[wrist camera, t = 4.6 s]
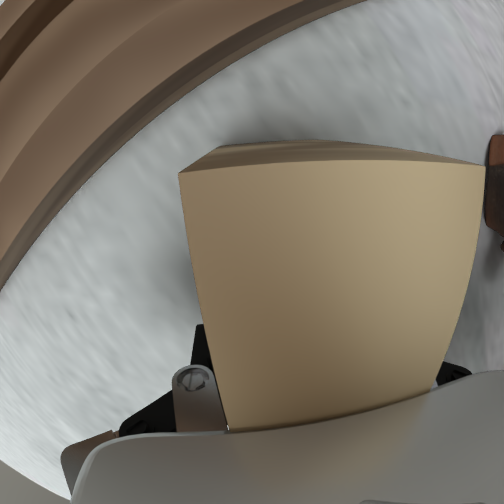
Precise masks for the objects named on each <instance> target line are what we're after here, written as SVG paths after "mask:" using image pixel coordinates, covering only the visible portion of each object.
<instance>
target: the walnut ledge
mask: <svg viewBox="0 0 504 504" xmlns="http://www.w3.org/2000/svg"><path fill="white" fill-rule="evenodd" d="M363 1H366V0H5V1H4V2H3V4H2V5H1V6H0V291H1V289H2V288H3V286H4V285H5V283H6V281H7V280H8V278H9V277H10V275H11V274H12V272H13V271H14V269H15V268H16V266H17V265H18V264H19V262H20V261H21V259H22V258H23V257H24V255H25V254H26V252H27V251H28V250H29V248H30V247H31V246H32V244H33V243H34V242H35V240H36V239H37V238H38V236H39V235H40V234H41V233H42V231H43V230H44V229H45V228H46V226H47V225H48V224H49V223H50V221H51V220H52V219H53V218H54V217H55V215H56V214H57V213H58V212H59V211H60V209H61V208H62V207H63V206H64V205H65V204H66V203H67V201H68V200H69V199H70V198H71V197H72V196H73V195H74V194H75V193H76V192H77V190H78V189H79V188H80V187H81V186H82V185H83V184H84V183H85V182H86V181H87V180H88V179H89V178H90V177H91V176H92V175H93V174H94V173H95V172H96V171H97V170H98V169H99V168H100V167H101V166H102V165H103V164H104V163H105V162H106V161H107V160H108V159H109V158H110V157H111V156H112V155H113V154H114V153H115V152H116V151H117V150H119V149H120V148H121V147H122V146H123V145H124V144H125V143H126V142H127V141H129V140H130V139H131V138H132V137H133V136H134V135H135V134H136V133H138V132H139V131H140V130H141V129H142V128H144V127H145V126H146V125H147V124H148V123H150V122H151V121H152V120H153V119H154V118H156V117H157V116H158V115H159V114H161V113H162V112H163V111H164V110H166V109H167V108H168V107H170V106H171V105H172V104H174V103H175V102H176V101H178V100H179V99H180V98H182V97H183V96H184V95H186V94H187V93H188V92H190V91H191V90H193V89H194V88H195V87H197V86H198V85H200V84H201V83H203V82H204V81H206V80H207V79H209V78H210V77H212V76H213V75H215V74H216V73H218V72H219V71H221V70H222V69H224V68H226V67H227V66H229V65H230V64H232V63H234V62H235V61H237V60H239V59H240V58H242V57H244V56H245V55H247V54H249V53H250V52H252V51H254V50H256V49H258V48H259V47H261V46H263V45H265V44H267V43H268V42H270V41H272V40H274V39H276V38H278V37H280V36H282V35H284V34H286V33H288V32H290V31H292V30H294V29H296V28H298V27H300V26H303V25H305V24H307V23H309V22H311V21H314V20H316V19H318V18H321V17H323V16H326V15H328V14H330V13H333V12H335V11H338V10H341V9H343V8H346V7H349V6H351V5H354V4H357V3H360V2H363Z"/></svg>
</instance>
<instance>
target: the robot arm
mask: <svg viewBox="0 0 504 504" xmlns="http://www.w3.org/2000/svg"><path fill="white" fill-rule="evenodd" d="M227 425H228V423H227V419H226V416H225V412H224V408H223V404H222V400H221V397H220V393H219V389H218V385H217V381H216V376H215V372H214V368H213V364H212V360H211V355H210V351H209V347H208V342H207V338H206V333H205V328H204V324H199V325H197V326H196V331H195V337H194V344H193V350H192V357H191V364H190V365H189V366H186V367H183V368H181V369H179V370H178V371H177V372H176V373H175V374H174V376H173V378H172V390H171V391H169V392H168V393H166V394H165V395H163V396H162V397H160V398H159V399H157V400H156V401H154V402H153V403H151V404H150V405H148V406H146V407H145V408H143V409H142V410H140V411H138V412H137V413H135V414H134V415H132V416H131V417H129V418H127V419H126V420H125V421H124V422H123V423H122V424H121V426H120V429H119V430H118V431H116V432H113V431H112V430H110V431H107V432H105V433H102V434H100V435H97V436H94V437H92V438H89V439H86V440H84V441H81V442H78V443H75V444H72V445H70V446H68V447H66V448H65V449H64V451H63V452H62V454H61V465H62V468H63V472H64V475H65V478H66V481H67V484H68V487H69V490H70V493H71V496H72V497H71V501H70V504H504V371H500V370H496V371H486V372H480V373H476V374H472V373H471V372H470V371H469V370H468V369H466V368H464V367H461V366H458V365H454V364H451V363H447V362H444V361H443V362H442V365H441V367H440V369H439V372H438V374H437V376H436V379H435V381H434V383H433V385H432V388H431V390H430V391H429V392H426V393H423V394H420V395H417V396H414V397H411V398H408V399H405V400H402V401H399V402H396V403H392V404H389V405H386V406H382V407H379V408H375V409H371V410H368V411H364V412H360V413H356V414H352V415H347V416H343V417H338V418H334V419H329V420H324V421H318V422H313V423H307V424H301V425H294V426H287V427H280V428H271V429H262V430H252V431H240V432H230V430H228V427H227Z"/></svg>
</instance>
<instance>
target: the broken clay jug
mask: <svg viewBox="0 0 504 504" xmlns="http://www.w3.org/2000/svg"><path fill="white" fill-rule="evenodd" d="M485 202H486V203H485V218H486V225H487V226H488V227H490V228H492V229H493V230H495V231H497V232H498V233H499V234H500V235H501V236H503V237H504V135H493V136H492V138H491V143H490V151H489V168H488V181H487V184H486V198H485ZM501 249H502V251H503V252H504V241H503V243H502V244H501Z"/></svg>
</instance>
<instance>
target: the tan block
mask: <svg viewBox="0 0 504 504" xmlns="http://www.w3.org/2000/svg"><path fill="white" fill-rule="evenodd" d="M178 178H179V185H180V192H181V199H182V206H183V213H184V220H185V226H186V232H187V238H188V244H189V250H190V256H191V262H192V267H193V273H194V278H195V284H196V289H197V294H198V299H199V304H200V309H201V314H202V319H203V324H204V328H205V333H206V338H207V342H208V347H209V351H210V355H211V360H212V364H213V368H214V372H215V376H216V381H217V385H218V389H219V393H220V397H221V400H222V404H223V408H224V412H225V416H226V419H227V423H228V427H229V430H230V432H240V431H252V430H262V429H271V428H280V427H287V426H294V425H301V424H307V423H313V422H318V421H324V420H329V419H334V418H338V417H343V416H347V415H352V414H356V413H360V412H364V411H368V410H371V409H375V408H379V407H382V406H386V405H389V404H392V403H396V402H399V401H402V400H405V399H408V398H411V397H414V396H417V395H420V394H423V393H426V392H429V391H430V390H431V388H432V385H433V383H434V381H435V379H436V376H437V374H438V372H439V369H440V367H441V365H442V362H443V360H444V357H445V355H446V352H447V350H448V347H449V344H450V342H451V339H452V336H453V333H454V330H455V327H456V324H457V321H458V318H459V315H460V312H461V308H462V305H463V302H464V298H465V294H466V291H467V287H468V283H469V279H470V275H471V270H472V266H473V261H474V257H475V252H476V246H477V241H478V235H479V228H480V222H481V214H482V206H483V196H484V184H485V166H482V165H478V164H474V163H470V162H466V161H462V160H457V159H453V158H448V157H443V156H438V155H433V154H428V153H422V152H417V151H411V150H405V149H398V148H392V147H385V146H377V145H369V144H360V143H351V142H341V141H329V140H292V141H273V142H259V143H246V144H235V145H225V146H219V147H217V148H216V149H214V150H213V151H211V152H209V153H208V154H206V155H205V156H203V157H202V158H200V159H199V160H197V161H196V162H194V163H193V164H191V165H190V166H188V167H187V168H185V169H184V170H182V171H181V172H179V173H178Z"/></svg>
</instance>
